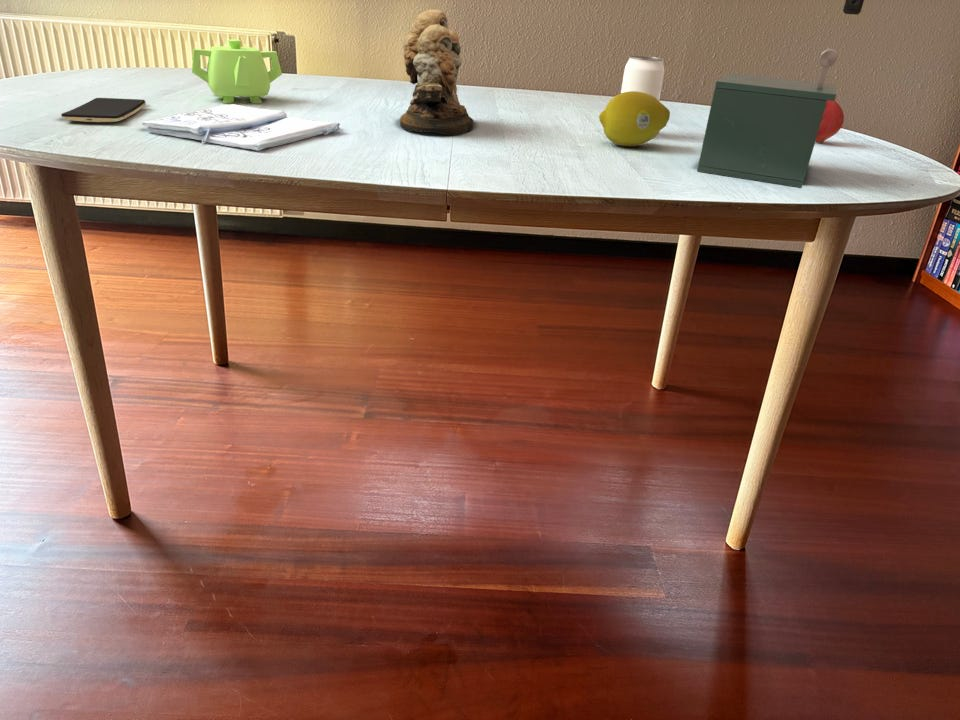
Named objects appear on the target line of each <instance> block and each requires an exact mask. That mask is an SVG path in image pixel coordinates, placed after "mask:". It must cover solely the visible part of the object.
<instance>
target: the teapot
mask: <svg viewBox="0 0 960 720" xmlns="http://www.w3.org/2000/svg"><path fill="white" fill-rule="evenodd" d="M227 43H228V45H229V46H227V45H226V46H225V45H223V46H222V45H217V46H216V45H214V46H211V47H210V49H203V48H202V49H199V48H192V60H191V73H192V74H194V76H197V78H200V79H202V80H203V81H204V82H206V83H207V86H208V88H209V89H210V91H211V93H213V94H214V95H215V96H218V99H222V101H221V102H222V103H224V104H235V97H245V98H246V99H249V101H250V103H252V104H262V103H263V101H262V99H261V98H260V97H265V96H268V95H269V92H270V90H271V83H273V82H274V81H275V80H276V79H278V78H279V77H280V76H282V75H283V72H282V68H281V64H280V60H279V56H278V52H277V51H275V50H270V51H269V50H266V51H265V50H263V51H261V50H260V49H258V48H256V47H250V46H242V40H241V39H235V38H230V39H227ZM201 56H203V57H208V59H207V65H206V70H204V69H203V68H202V66H201V65H202V63H201ZM266 58H270V63H271V69H270V70H269V71H268V68H267V66H266V62H265V60H264V59H266Z"/></svg>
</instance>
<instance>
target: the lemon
mask: <svg viewBox="0 0 960 720" xmlns="http://www.w3.org/2000/svg"><path fill="white" fill-rule="evenodd" d="M670 117H671V112H670V110H669V108H668V107H666V106H665V105H664V104H663V103H662V102H661V101H660V100H659V101H658V100H657V99H656V98H655V97H653V96H651V95H649V94H646V93H642V92H634V91H631V92H624V93H621V92H620V93H618V94H616V95H615V96H614V97H612V98H611V99H610V100H609V101H608V102H607V104H606V106H605V109H603V110H602V111H601V112H600V114H599V115H598V119H599V122H600V123H601V126H602V128H603V133H604V135H605V137H606V138H607V139H608V141H610V142H611V143H613V144H615V145H618V146H622V147H637V146H640V145H643V144H646V143H647V142H649V141H651V140H653V139H654V138H655V137H656V136H657V135H658V134H659V133H660V132H661V130H663V129H664V128H665V127H666V126H667V124H668V122H669V120H670Z"/></svg>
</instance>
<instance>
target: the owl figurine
mask: <svg viewBox="0 0 960 720" xmlns="http://www.w3.org/2000/svg"><path fill="white" fill-rule="evenodd" d="M402 46H403V58H404V59H403V60H404V66H405V72H406V74H407V76H408V77H409V78H410V79H409V83H410V84H412V85H414V89H413V92H412V95H411V96H412V99H411V100H410V102H409V106H408V108H407V110H406V111H405V112H404V113H402V114H401V116H400V118H399V125H400V127H401V128H402V129H403V130H406V131H408V132H414V131H415V132H416V133H418V134H420V133H421V132H422V133H424V132H428V133H429V132H430V133H431V132H433V133H437V134H441V135H444V136H458V135H461V134H464V133H467V132H470V131H472V130H473V127H474V119H473V118H472V117H471V116H470V115H469V113H468V110H467V108H466V107H465V105H463V104H461V103H460V101H459V96H458V93H457V92H458V91H457V90H458V86H457V82H458V75H459V69H460V67H461V66H462V62H463V61H462V57H461V53H462V52H461V51H462V50H461V48H462V47H461V44H460V37H459V34H457V32H455V31H454V30H451V29H449V25H448V17H447V15H446V14H445V12H444V11H443V10H441V9H439V8H433V9H432V8H430V9H427V10H425V11H423V12H421V13H420V14H418V15H417V16H416V17H415V19H414V22H412V24H411V27H410V32H409V33H408V34H407V35H406V36H405V38H404V40H403V45H402Z"/></svg>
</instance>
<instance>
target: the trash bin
mask: <svg viewBox="0 0 960 720" xmlns="http://www.w3.org/2000/svg"><path fill="white" fill-rule="evenodd" d="M826 103H827V100H819V99H810V98H801V97H792V96H784V95H775V94H766V93H757V92H749V91H740V90H731V89H722V88H715V87H714V90H713V95H712V99H711V104H710V108H709V114H708V118H707V122H706V127H705V131H704V137H703V141H702V145H701V151H700V156H699V160H698V164H697V168H696V171H697V173H705V174H710V175H711V174H712V175H717V176H724V177H731V178H737V179H743V180H748V181H749V180H750V181H755V182H762V183H769V184H775V185H782V186H788V187H795V188H803V186H804V183H805V178H806V175H807V172H808V169H809V165H810V161H811V157H812V154H813V151H814V147H815V145H816V138H817V134H818V131H819V127H820V124H821V120H822V117H823V114H824V110H825V107H826Z"/></svg>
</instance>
